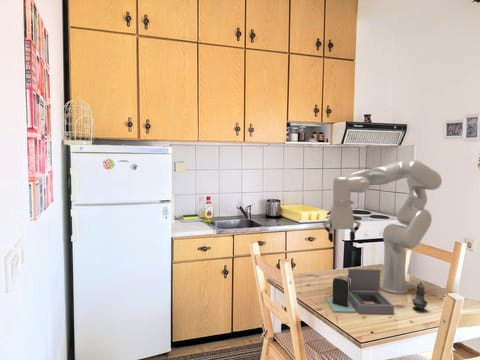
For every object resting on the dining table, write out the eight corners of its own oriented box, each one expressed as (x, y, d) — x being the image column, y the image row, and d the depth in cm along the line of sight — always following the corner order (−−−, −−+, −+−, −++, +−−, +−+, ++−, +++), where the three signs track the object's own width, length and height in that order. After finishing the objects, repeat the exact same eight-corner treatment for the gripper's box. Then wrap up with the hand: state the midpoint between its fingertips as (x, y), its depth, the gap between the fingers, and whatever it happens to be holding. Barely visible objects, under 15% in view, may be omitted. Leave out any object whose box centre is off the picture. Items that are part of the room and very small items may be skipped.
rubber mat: (345, 299, 158) (345, 297, 158) (355, 312, 144) (355, 311, 144) (325, 298, 158) (325, 297, 158) (333, 312, 144) (333, 310, 144)
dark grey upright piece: (409, 306, 151) (410, 279, 150) (423, 306, 151) (424, 279, 150) (415, 312, 145) (417, 284, 144) (430, 313, 145) (431, 284, 144)
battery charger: (350, 304, 150) (351, 278, 150) (347, 307, 147) (348, 280, 147) (335, 300, 155) (336, 274, 154) (331, 303, 152) (332, 277, 151)
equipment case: (378, 298, 159) (379, 269, 158) (393, 314, 143) (395, 281, 142) (347, 298, 159) (348, 268, 158) (359, 313, 143) (360, 281, 142)
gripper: (357, 202, 164) (357, 238, 165) (320, 203, 163) (320, 239, 164) (363, 204, 156) (363, 242, 158) (325, 205, 156) (325, 243, 157)
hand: (341, 241), depth 161 cm, fingers open, 9 cm apart
